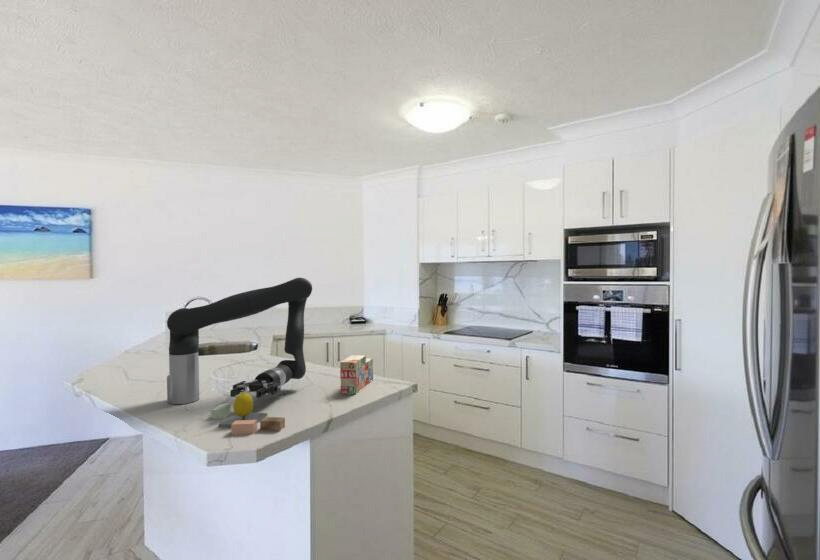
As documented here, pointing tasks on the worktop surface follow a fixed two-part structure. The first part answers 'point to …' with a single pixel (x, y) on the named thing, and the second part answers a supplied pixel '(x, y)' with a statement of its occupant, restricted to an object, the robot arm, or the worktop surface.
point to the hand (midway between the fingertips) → (244, 394)
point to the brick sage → (221, 411)
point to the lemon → (243, 404)
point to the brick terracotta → (244, 427)
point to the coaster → (236, 418)
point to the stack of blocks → (355, 373)
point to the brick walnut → (272, 423)
